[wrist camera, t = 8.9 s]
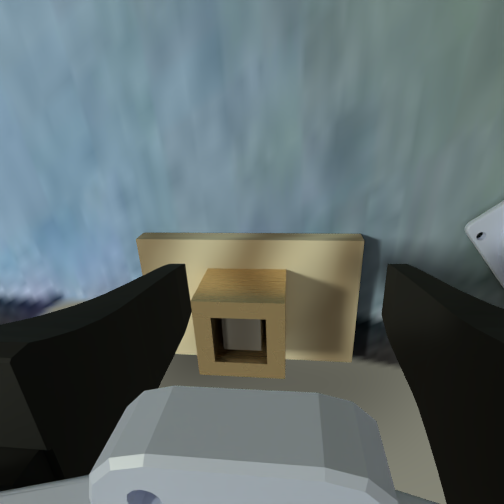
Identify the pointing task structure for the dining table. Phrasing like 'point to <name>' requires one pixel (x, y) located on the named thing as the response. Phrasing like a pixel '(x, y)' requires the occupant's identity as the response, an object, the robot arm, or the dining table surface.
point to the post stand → (297, 285)
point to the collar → (240, 307)
